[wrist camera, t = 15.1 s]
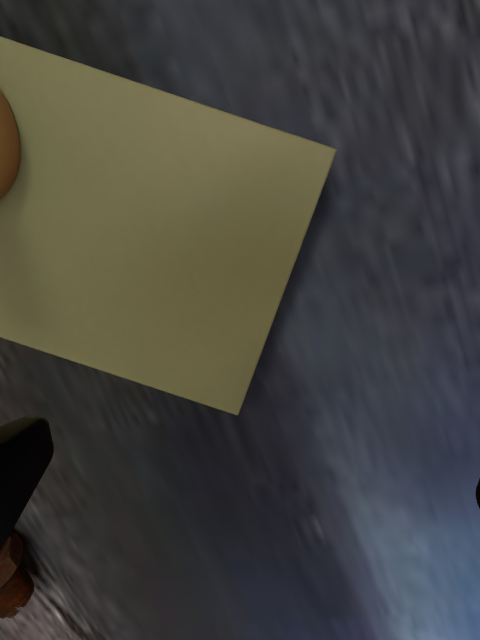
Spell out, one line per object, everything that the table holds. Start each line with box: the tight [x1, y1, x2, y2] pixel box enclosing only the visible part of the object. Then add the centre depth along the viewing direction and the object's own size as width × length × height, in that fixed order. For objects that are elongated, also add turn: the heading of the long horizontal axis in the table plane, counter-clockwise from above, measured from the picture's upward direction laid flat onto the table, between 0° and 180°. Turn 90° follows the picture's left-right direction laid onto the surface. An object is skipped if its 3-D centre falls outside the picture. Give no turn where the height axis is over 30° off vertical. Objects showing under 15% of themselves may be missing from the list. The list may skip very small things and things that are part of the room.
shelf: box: [0, 37, 337, 415], centre depth 17 cm, size 20×13×4 cm, turn 72°
